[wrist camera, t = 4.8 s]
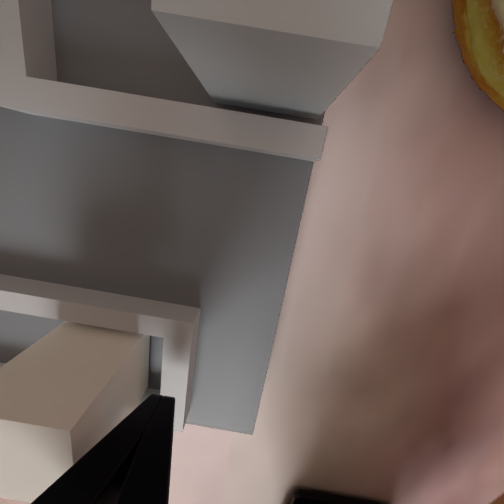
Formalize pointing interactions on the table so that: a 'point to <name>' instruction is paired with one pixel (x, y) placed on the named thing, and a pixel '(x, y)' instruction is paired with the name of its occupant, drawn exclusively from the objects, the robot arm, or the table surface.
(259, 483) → the table surface
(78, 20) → the panel
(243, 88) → the grey slider
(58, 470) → the cream slider
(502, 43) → the decorated donut
